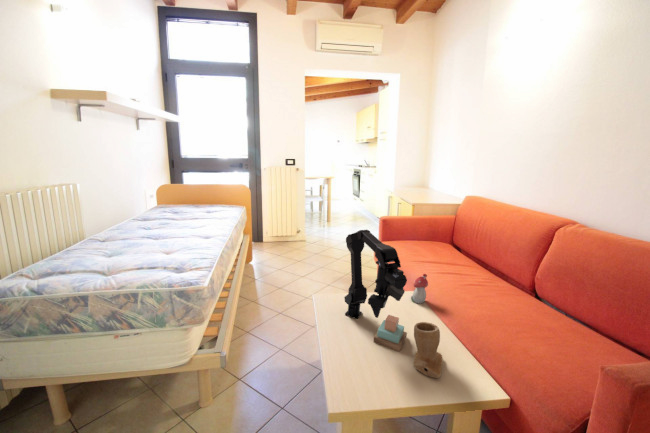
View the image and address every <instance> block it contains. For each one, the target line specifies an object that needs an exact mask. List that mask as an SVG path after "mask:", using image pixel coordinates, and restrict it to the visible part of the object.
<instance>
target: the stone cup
mask: <svg viewBox="0 0 650 433" xmlns="http://www.w3.org/2000/svg"><path fill="white" fill-rule="evenodd" d="M413 338H414V341H415V344H416V345H415V346H416V350H417V351H416V352H415V355H414V359H413V360H414V361H413V367H414V368H415V369H416V370H418V371H419V372H420V373H421V374H423V375H425V376H427V377H430V378H434V379H435V378H436V379H439V378H441V374H442V368H443V355H442V353H440V352H438V349H439V348H438V347H439V345H440V341H441V331H440V328H439V327H438V325H436V324H434V323H432V322H427V321H420V322H417V323H415V325H414V327H413Z"/></svg>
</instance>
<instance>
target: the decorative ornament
mask: <svg viewBox="0 0 650 433" xmlns="http://www.w3.org/2000/svg"><path fill="white" fill-rule="evenodd" d="M427 277H428V275H427V274H426V273H423V274H422V276H418V277H416V278H415V279H414V282H413V284H412V285H413V287H414V290H413V292H412V295H411V296H410V300H411V301H412V303H415V304H422V303H424V302H425V301H426V299H427V291H426V289H425V288H427V287H428V286H429V282H428V279H427Z"/></svg>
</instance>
